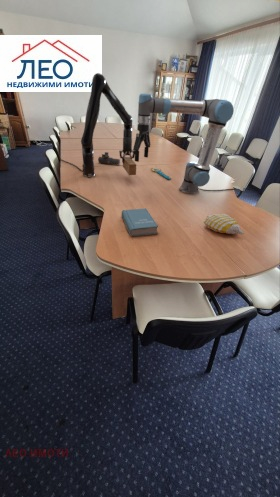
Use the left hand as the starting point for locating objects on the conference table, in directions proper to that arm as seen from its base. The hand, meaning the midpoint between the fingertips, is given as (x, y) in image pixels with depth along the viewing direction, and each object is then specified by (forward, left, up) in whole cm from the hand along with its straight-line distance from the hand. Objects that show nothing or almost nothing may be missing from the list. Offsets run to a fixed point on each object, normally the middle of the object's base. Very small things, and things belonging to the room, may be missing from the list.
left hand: (127, 163), depth 195 cm
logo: (+22, +30, -13) cm, 39 cm away
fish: (+96, -46, -13) cm, 107 cm away
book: (+50, -70, -13) cm, 87 cm away
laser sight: (-36, +24, -13) cm, 45 cm away
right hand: (+31, -34, +15) cm, 48 cm away
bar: (+5, -6, -4) cm, 9 cm away
